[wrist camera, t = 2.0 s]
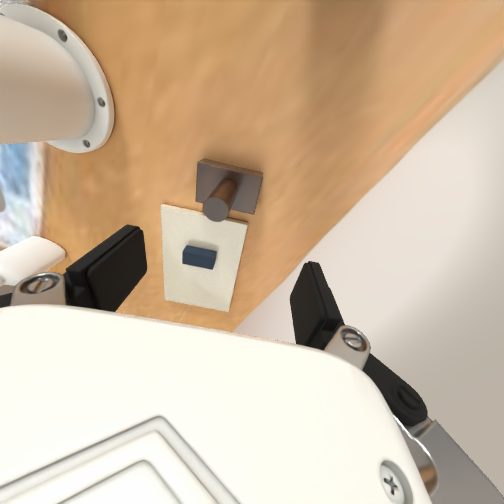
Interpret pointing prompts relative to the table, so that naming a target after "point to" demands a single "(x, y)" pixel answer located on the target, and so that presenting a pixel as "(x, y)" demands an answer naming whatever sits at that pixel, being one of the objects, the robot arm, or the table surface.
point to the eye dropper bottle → (28, 259)
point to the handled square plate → (226, 189)
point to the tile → (208, 237)
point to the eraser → (199, 257)
